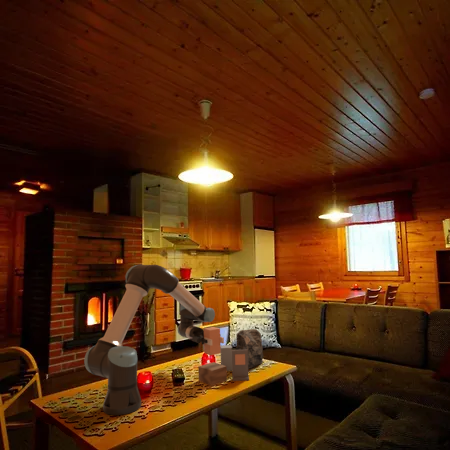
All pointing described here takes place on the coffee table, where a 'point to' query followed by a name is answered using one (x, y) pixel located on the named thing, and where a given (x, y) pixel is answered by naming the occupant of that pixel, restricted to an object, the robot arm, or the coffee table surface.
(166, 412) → the coffee table surface
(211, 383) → the walnut block
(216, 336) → the terracotta block
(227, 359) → the slate-grey block
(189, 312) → the robot arm
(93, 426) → the coffee table surface
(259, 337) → the stone block
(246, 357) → the charcoal sign
